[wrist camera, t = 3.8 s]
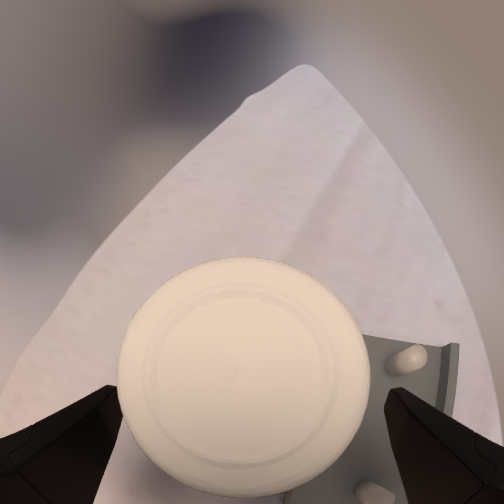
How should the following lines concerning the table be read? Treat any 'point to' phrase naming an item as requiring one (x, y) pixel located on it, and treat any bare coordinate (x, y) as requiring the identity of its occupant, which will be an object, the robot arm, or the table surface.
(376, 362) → the tray
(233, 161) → the table surface
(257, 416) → the sprinkles bottle
